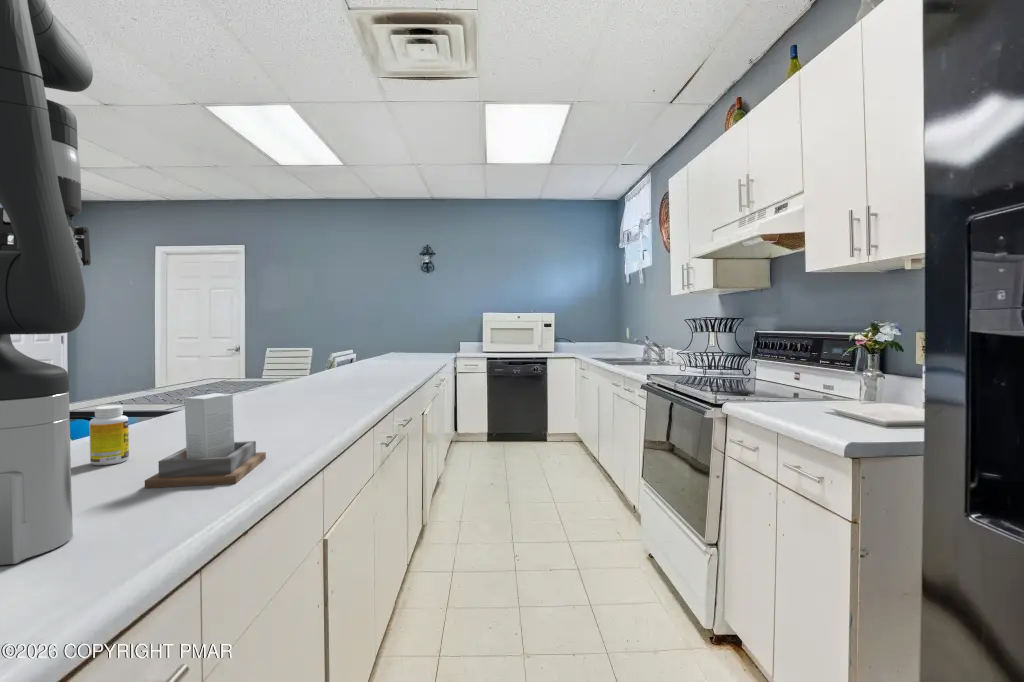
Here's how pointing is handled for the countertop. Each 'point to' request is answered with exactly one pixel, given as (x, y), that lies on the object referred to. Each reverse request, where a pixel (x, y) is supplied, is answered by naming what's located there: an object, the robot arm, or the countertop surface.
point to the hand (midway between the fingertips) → (49, 290)
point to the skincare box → (209, 425)
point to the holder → (206, 468)
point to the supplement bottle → (109, 436)
